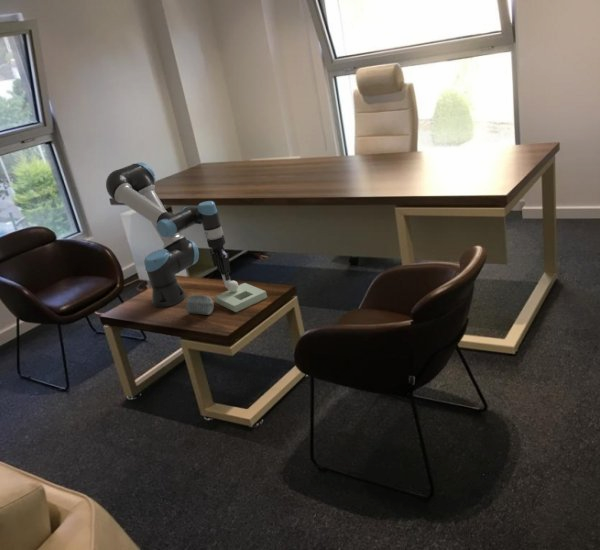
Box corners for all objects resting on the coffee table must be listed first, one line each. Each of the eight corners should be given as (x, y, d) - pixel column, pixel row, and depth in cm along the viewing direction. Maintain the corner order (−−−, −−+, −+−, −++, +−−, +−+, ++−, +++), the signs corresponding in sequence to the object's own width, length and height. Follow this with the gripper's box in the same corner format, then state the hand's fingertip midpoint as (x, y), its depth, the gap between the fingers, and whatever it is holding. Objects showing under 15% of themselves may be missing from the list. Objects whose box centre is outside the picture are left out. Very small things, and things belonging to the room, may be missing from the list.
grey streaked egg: (177, 310, 254) (184, 288, 252) (193, 310, 261) (199, 289, 260) (199, 322, 246) (206, 299, 245) (215, 321, 254) (221, 299, 252)
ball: (226, 292, 262) (223, 282, 261) (236, 288, 265) (233, 277, 263) (232, 294, 258) (229, 284, 257) (241, 290, 261) (239, 280, 259)
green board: (215, 302, 262) (214, 296, 261) (246, 288, 270) (244, 282, 269) (236, 312, 248) (234, 306, 247) (267, 297, 256) (265, 291, 254)
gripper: (200, 237, 260) (214, 286, 268) (214, 242, 249) (228, 292, 258) (215, 232, 263) (228, 280, 272) (229, 236, 253) (242, 285, 262)
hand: (228, 286), depth 265 cm, fingers closed
